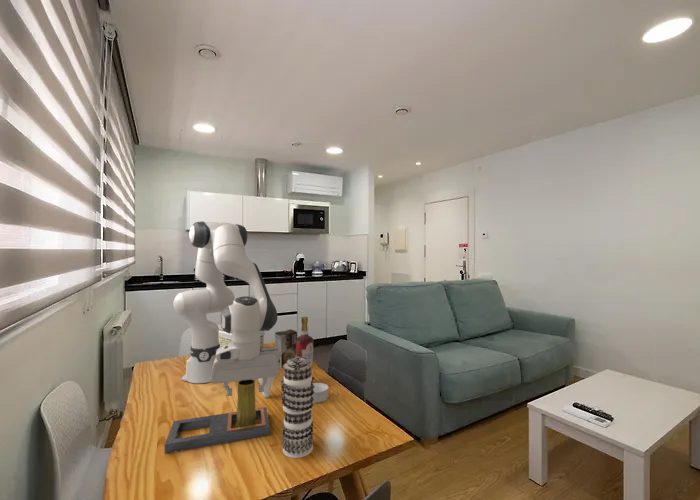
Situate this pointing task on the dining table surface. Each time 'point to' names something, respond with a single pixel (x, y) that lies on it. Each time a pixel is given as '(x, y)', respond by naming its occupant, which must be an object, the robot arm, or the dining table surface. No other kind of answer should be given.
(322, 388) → the ramekin
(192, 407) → the dining table surface
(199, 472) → the dining table surface
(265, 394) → the lightbulb
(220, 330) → the storage basket
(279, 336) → the coffee box
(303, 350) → the liquor
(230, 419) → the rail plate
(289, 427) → the decorative candle
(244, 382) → the vase
